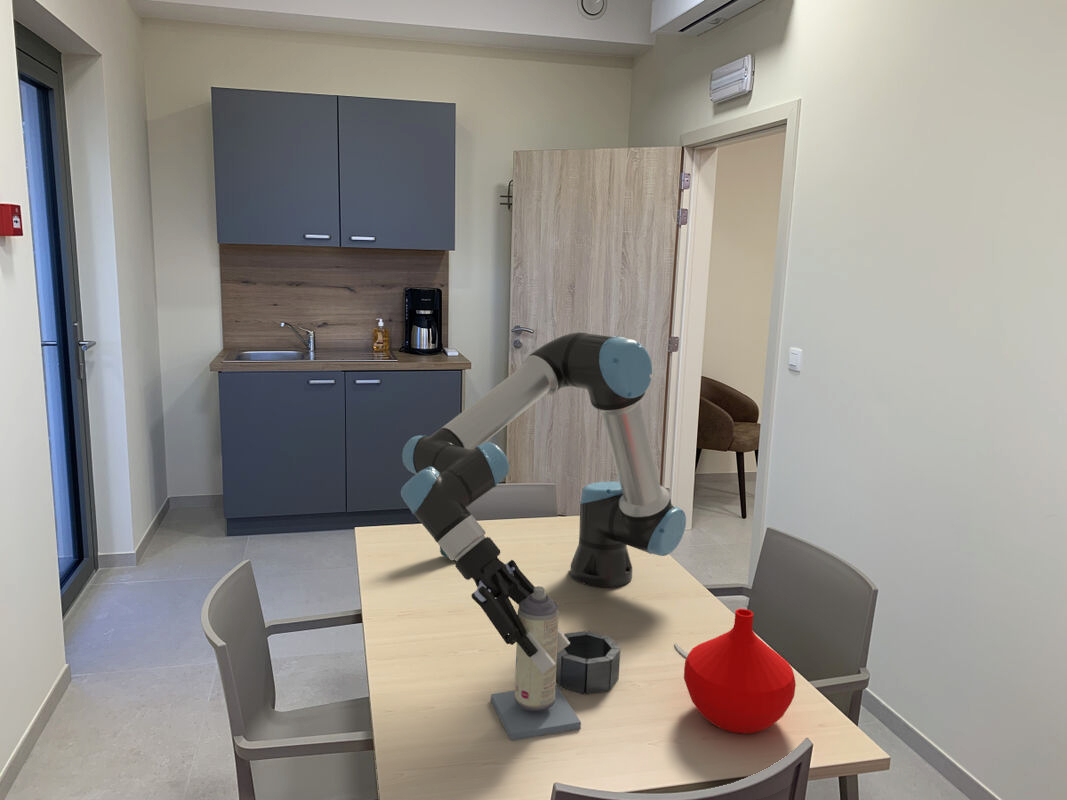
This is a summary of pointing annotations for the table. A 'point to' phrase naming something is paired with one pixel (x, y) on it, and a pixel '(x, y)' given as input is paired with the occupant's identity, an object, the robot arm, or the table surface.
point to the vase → (739, 679)
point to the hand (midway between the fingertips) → (556, 657)
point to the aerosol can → (543, 624)
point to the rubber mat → (534, 716)
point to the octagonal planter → (588, 663)
